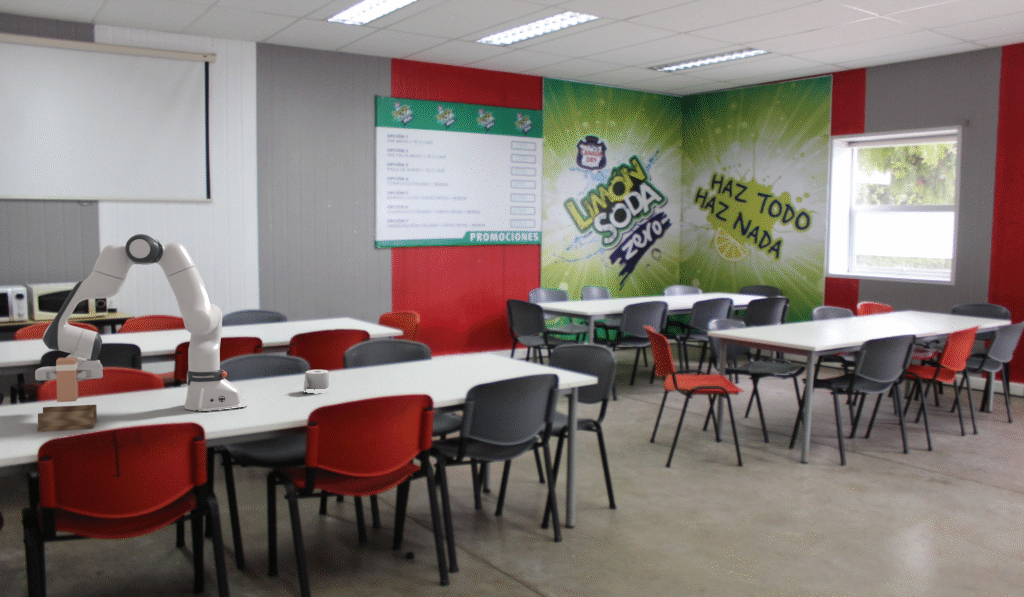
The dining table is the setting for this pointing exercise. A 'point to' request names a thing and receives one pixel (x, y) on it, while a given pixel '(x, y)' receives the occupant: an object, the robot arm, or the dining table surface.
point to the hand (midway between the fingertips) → (66, 376)
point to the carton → (67, 379)
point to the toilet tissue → (316, 379)
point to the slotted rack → (67, 418)
